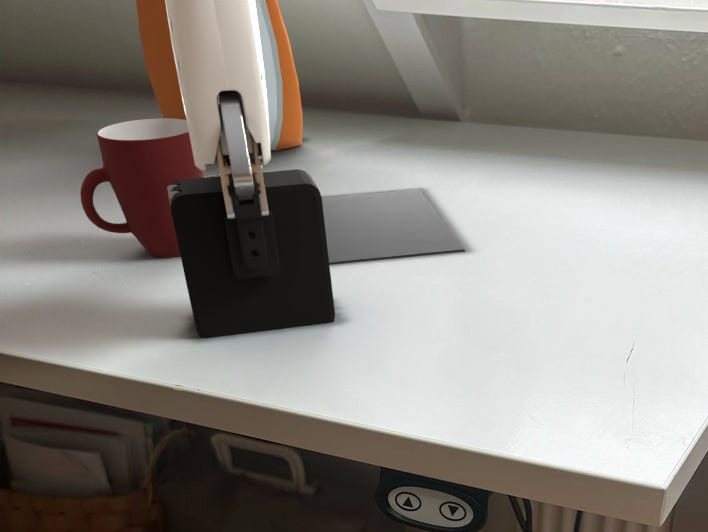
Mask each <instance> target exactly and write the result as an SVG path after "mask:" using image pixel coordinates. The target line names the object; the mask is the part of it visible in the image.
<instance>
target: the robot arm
mask: <svg viewBox="0 0 708 532" xmlns="http://www.w3.org/2000/svg"><path fill="white" fill-rule="evenodd" d="M165 1H166V9H167V16H168V23H169V29H170V36H171V42H172V47H173V53H174V58H175V63H176V69H177V74H178V79H179V84H180V90H181V95H182V100H183V105H184V110H185V115H186V120H187V125H188V131H189V136H190V141H191V146H192V152H193V157H194V162H195V166H196V167H198V168H199V169H200V170H202V171H205V172H206V171H207V165H215V161H217V167H218V169H217V170H218V174H219V176H220V178H221V184H222V189H223V195H224V200H225V206H226V212H227V216H224V222H225V227H226V233H227V238H228V244H229V249H230V255H231V260H232V266H233V271H234V275H235V276H236V277H237V278H240V279H241V278H251V277H261V276H271V275H278V274H279V273H280V271H281V268H280V262H279V255H278V248H277V242H276V235H275V228H274V221H273V215H272V212H269V210H268V204H267V197H266V191H265V185H264V178H263V172H264V171H263V169H264V167H265V166H266V165H267V164H268V163H269V162H270V161H271V160H272V153H271V152H272V150H270V132H269V118H268V106H267V95H266V85H265V76H264V67H263V59H262V51H261V44H260V36H259V28H258V21H257V13H256V6H255V0H165ZM217 95H218V99H219V104H218V100H217ZM252 174H255V178H254V179H253V176H252ZM231 175H232V176H233V180H230V183H229V178H228V176H231ZM232 199H233V201H232ZM233 202H234V207H233ZM260 211H261V213H260ZM235 214H236V215H235Z"/></svg>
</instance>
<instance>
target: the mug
mask: <svg viewBox="0 0 708 532" xmlns="http://www.w3.org/2000/svg"><path fill="white" fill-rule="evenodd" d="M96 138H97V142H98V147H99V150H100V155H101V160H102V167H100V168H96V169H95V168H94V169H93V170H91V171H89V172H88V173H87V174H86V175H85V177H84V178H83V181H82V183H81V186H80V195H79V196H80V203H81V207H82V209H83V212H84V214H85V216H86V217H87V218H88V220H89V221H90V222H91V223H92V224H93V225H94V226H96V228H98V229H101V230H102V231H105V232H109V233H115V234H132V235H133V237H134V238H136V240H137V242H139V243H140V245H141V246H142V247H143V248H144V250H145V251H146V252H147V253H148V255H150V256H151V257H154V258H161V259H173V258H175V259H176V258H181V256H180V251H179V246H178V242H177V237H176V232H175V228H174V223H173V218H172V213H171V208H170V202H169V197H168V190H167V187H168V186H170V185H171V184H172V183H173V182H175V181H177V180H181V179H192V178H203V177H206V171H202V170H200V169H199V168H198V167H196V166H195V162H194V157H193V152H192V146H191V141H190V136H189V131H188V125H187V120H182V119H168V118H164V117H161V118H143V119H142V118H141V119H137V120H136V119H135V120H128V121H122V122H118V123H112V124H109V125H107V126H104V127H101V128H100V129H99V130H98V131H97V132H96ZM103 183H110V187H111V188H112V190H113V192H114V195H115V197H116V199H117V202H118V204H119V207H120V209H121V212H122V214H123V216H124V219H125V222H121V223H118V222H117V223H115V222H110V221H107V220H105V219H104V218H103V217H102V216H100V214H99V213H98V211H97V210H96V207H95V202H94V194H95V191H96V189H97V188H98V186H99V185H101V184H103Z"/></svg>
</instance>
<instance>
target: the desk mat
mask: <svg viewBox="0 0 708 532" xmlns="http://www.w3.org/2000/svg"><path fill="white" fill-rule="evenodd" d="M321 197H322V205H323V213H324V222H325V231H326V239H327V248H328V257H329V266H331V265H340V264H341V265H342V264H350V263H351V264H352V263H360V262H361V263H362V262H371V261H382V260H391V259H402V258H412V257H413V258H414V257H423V256H434V255H444V254H455V253H463V252H466V248H465V247H464V246H463V245H462V244H461V242H460V241H459V240H458V238H457V236H455V234H454V232H452V230H451V229H450V227H449V226H448V225H447V223H446V222H445V221H444V219H443V218H442V217H441V215H440V214H439V212H438V211H437V209H436V208H435V207H434V205H432V203H431V202H430V201H429V200H428V198H427V196H425V194H424V193H423V191H422V190H421V189H420V188H416V189H415V188H414V189H405V190H394V191H393V190H392V191H391V190H390V191H380V192H379V191H378V192H368V193H355V194H346V195H345V194H344V195H335V196H321Z"/></svg>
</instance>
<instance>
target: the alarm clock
mask: <svg viewBox="0 0 708 532" xmlns="http://www.w3.org/2000/svg"><path fill="white" fill-rule="evenodd" d="M135 5H136V14H137V24H138V32H139V37H140V43H141V47H142V50H143V51H142V52H143V57H144V62H145V67H146V70H147V74H148V77H149V80H150V83H151V87H152V90H153V94H154V96H155V100H156V102H157V105H158V106H159V110H160V112H161V114H162V116H163V117H162V118H168V119H182V120H186V115H185V110H184V105H183V100H182V95H181V90H180V84H179V79H178V74H177V69H176V63H175V58H174V53H173V47H172V42H171V36H170V29H169V23H168V16H167V9H166V1H165V0H135ZM255 6H256V13H257V21H258V28H259V36H260V44H261V51H262V59H263V67H264V76H265V85H266V95H267V106H268V118H269V132H270V150H271V151H281V150H284V149H290V148H295V147H299V146H301V145H302V141H303V136H304V135H303V132H304V131H303V128H304V127H303V126H304V124H303V123H304V121H303V119H304V118H303V117H304V116H303V115H304V114H303V107H302V98H301V92H300V91H301V90H300V84H299V77H298V74H297V70H296V66H295V61H294V56H293V52H292V47H291V44H290V43H291V42H290V39H289V35H288V33H287V28H286V25H285V23H284V20H283V19H284V18H283V16H282V12H281V9H280V5H279V3H278V0H255ZM217 100H218V104H219V99H218V95H217Z"/></svg>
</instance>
